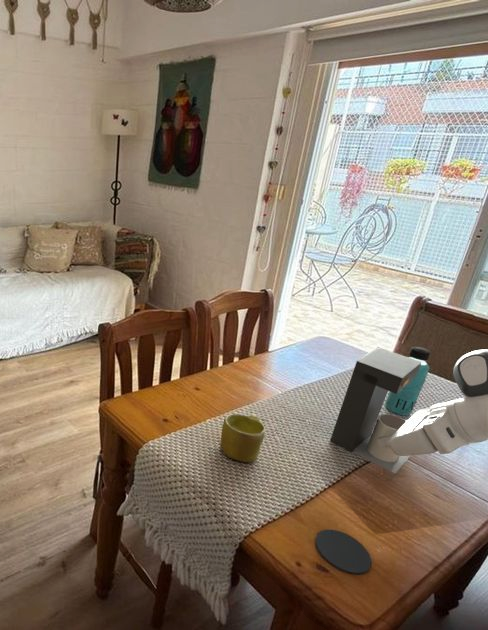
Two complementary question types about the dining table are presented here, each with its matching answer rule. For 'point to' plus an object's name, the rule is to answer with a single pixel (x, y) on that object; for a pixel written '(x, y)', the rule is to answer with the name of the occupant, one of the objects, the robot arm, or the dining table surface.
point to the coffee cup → (384, 427)
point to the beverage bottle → (410, 386)
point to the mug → (242, 437)
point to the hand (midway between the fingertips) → (385, 435)
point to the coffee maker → (371, 401)
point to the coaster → (343, 551)
